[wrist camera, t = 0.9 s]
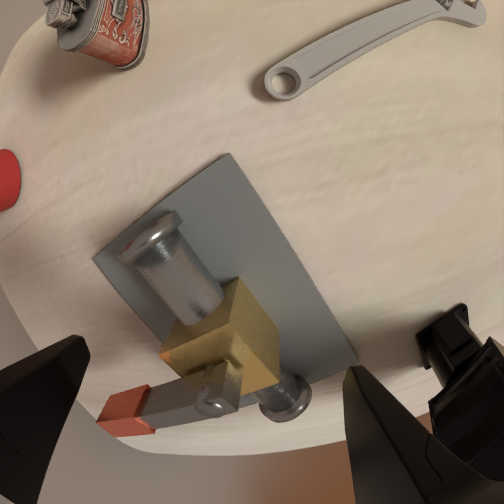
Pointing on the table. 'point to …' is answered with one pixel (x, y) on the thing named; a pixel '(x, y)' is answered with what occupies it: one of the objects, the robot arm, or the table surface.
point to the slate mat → (238, 269)
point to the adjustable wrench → (367, 40)
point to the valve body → (215, 321)
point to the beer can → (9, 179)
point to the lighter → (102, 28)
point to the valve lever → (173, 402)
